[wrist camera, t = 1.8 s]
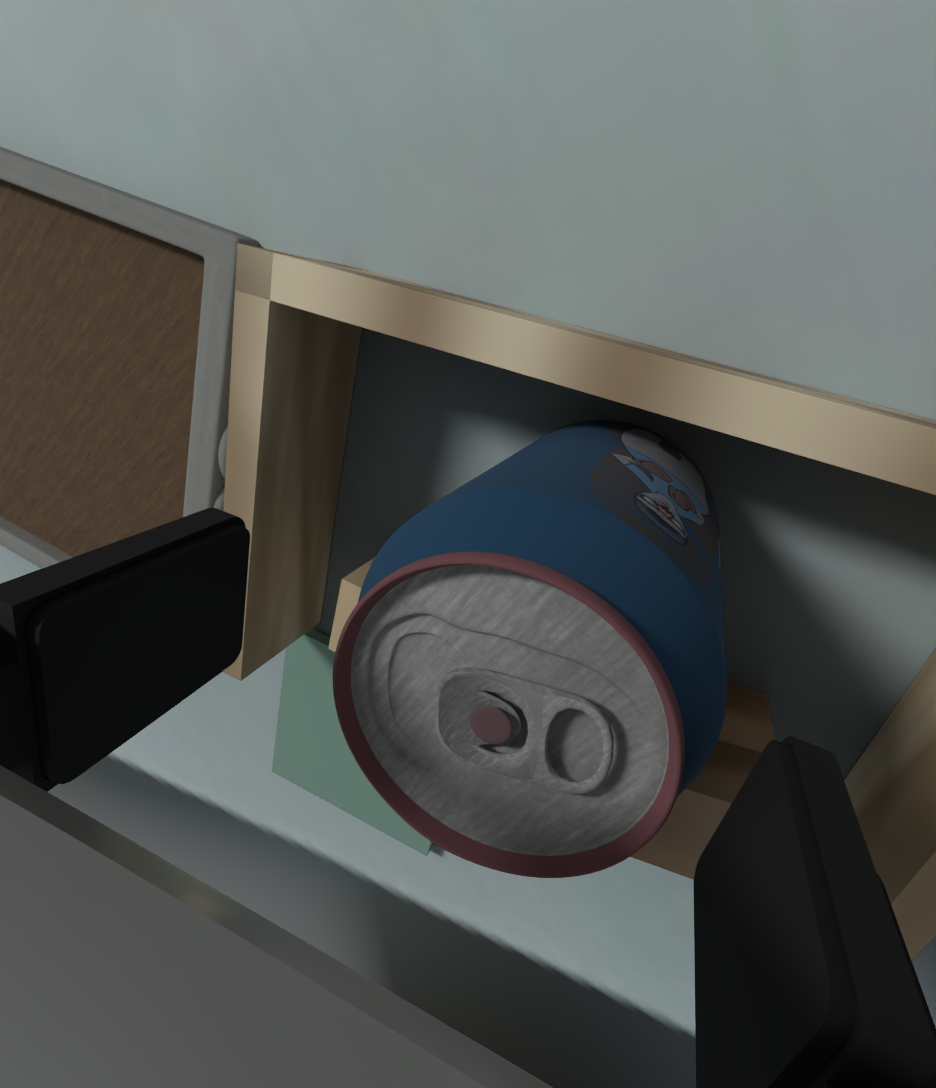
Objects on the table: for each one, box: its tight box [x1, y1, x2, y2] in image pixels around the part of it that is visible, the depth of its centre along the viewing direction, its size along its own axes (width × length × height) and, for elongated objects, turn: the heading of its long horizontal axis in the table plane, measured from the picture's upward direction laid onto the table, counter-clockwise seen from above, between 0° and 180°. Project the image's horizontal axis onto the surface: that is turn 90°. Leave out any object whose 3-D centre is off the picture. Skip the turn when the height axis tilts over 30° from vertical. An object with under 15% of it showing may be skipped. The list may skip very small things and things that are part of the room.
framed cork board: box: [0, 147, 259, 569], centre depth 27 cm, size 19×2×30 cm
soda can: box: [333, 420, 727, 878], centre depth 14 cm, size 7×7×12 cm
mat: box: [272, 629, 433, 856], centre depth 27 cm, size 9×9×1 cm
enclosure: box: [222, 243, 936, 961], centre depth 18 cm, size 23×15×5 cm, turn 75°
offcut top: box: [630, 740, 762, 879], centre depth 16 cm, size 6×3×2 cm, turn 85°
